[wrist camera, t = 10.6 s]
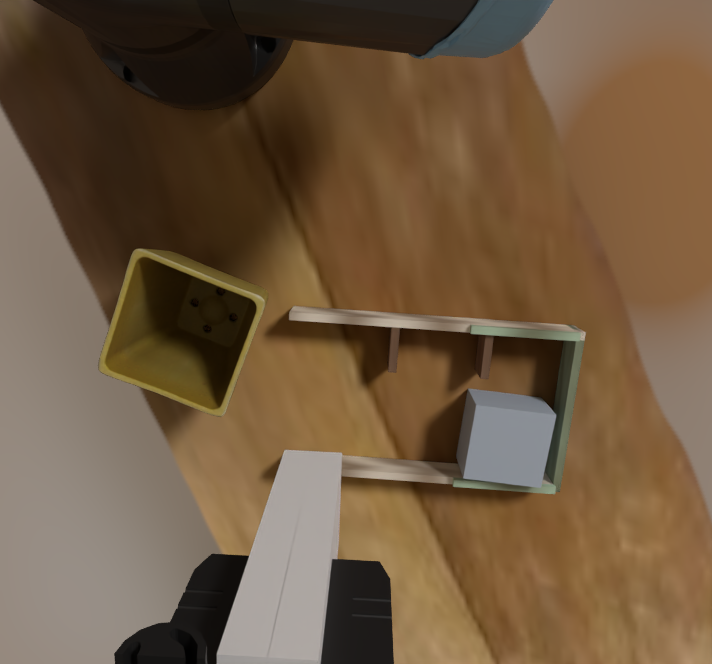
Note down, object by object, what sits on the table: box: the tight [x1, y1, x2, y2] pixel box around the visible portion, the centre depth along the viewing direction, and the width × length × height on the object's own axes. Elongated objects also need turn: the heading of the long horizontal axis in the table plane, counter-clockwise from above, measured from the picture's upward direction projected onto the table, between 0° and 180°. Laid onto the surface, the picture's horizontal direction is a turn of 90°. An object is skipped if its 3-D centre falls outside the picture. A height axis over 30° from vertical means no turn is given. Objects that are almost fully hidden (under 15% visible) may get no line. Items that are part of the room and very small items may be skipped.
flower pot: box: [98, 249, 268, 417], centre depth 40 cm, size 9×9×9 cm
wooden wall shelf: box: [289, 306, 586, 494], centre depth 44 cm, size 22×13×3 cm, turn 86°
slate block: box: [456, 389, 556, 488], centre depth 44 cm, size 6×6×4 cm
